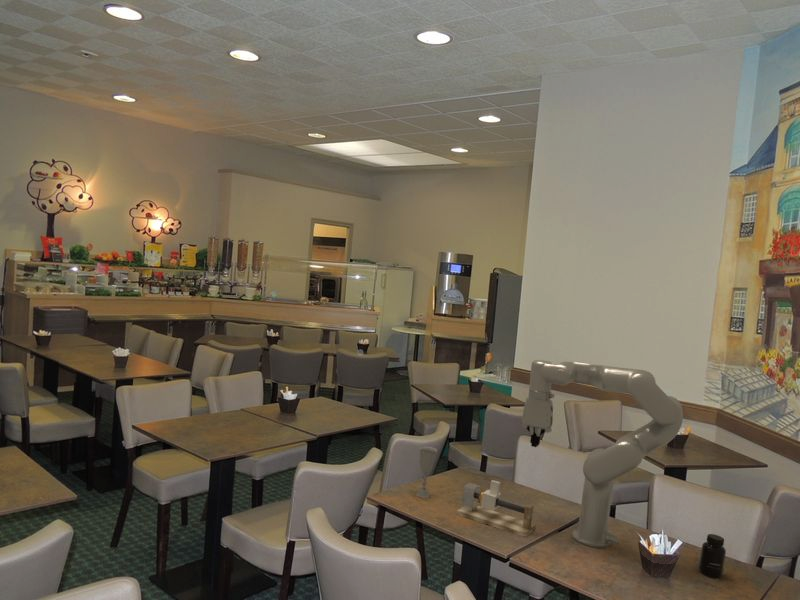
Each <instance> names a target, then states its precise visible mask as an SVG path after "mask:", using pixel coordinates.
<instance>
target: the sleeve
mask: <svg viewBox="0 0 800 600" xmlns="http://www.w3.org/2000/svg"><path fill="white" fill-rule="evenodd" d="M500 487H501V481H497V480H493V479H492V480H491V481H490V488H489V489H486V490H485V492H483V493H482V500H481V503H480V507H483V508H486V509H489V510H492V511H496V510H497V509H498V508H500V506H498V505H495V504H496V499H499V500H501V496H502V493H501V492H500Z"/></svg>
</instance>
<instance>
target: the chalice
mask: <svg viewBox="0 0 800 600" xmlns="http://www.w3.org/2000/svg"><path fill="white" fill-rule="evenodd" d="M419 450H420V451H419V466H420V469H421V472H422V473H423V475H424V476H423V477H422V479H423V480H422V482H421V483H422V487H421V488H419V489H418V491H417V493H416V496H417V497H419V498H423V499H428V498H430V493H429V490H428V489H427V487H426V485H427V474H429V473H430V472H431V470H432V469H433V467H434V464H435V462H436V453H437V451H438V450H437V448H435V447H434V446H433V447H432V446H426V445H425V446H424V445H423V446H420V447H419Z"/></svg>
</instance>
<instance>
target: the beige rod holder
mask: <svg viewBox="0 0 800 600" xmlns="http://www.w3.org/2000/svg"><path fill="white" fill-rule="evenodd" d="M461 508H462V507H460V508H458V509H457V510H456V515H457V516H461V517H463V518H466V517H467V518H466V519H469V518H470V519H469V520H472V519H473V521H475V522H478V523H481V524H483V525H486V524H488V525H487V526H489V525H491V526H490V527H492V526H493V528H495V527H496V529H498V528H499V529H498V530H501V529H502V531H504V530H505V531H504V532H507V531H508V532H507V533H510V532H512V533H511V534H513V533H515V534H514V535H516V534H518V535H517V536H519V535H522V536H525V537H524V538H526V537H528V536H529V535H530V534H531V533H532V532H533V531H534V530H535V529H536V528H537V527H536V526H537V525H536V524H535V523H533V521H532V520H533V514H534V513H533V512H534V505H532V504H526V505H525V506H524V508H525V511H524V513H523V520H522V519H520V518H517V517H513V516H510V515H507V514H505V513H502V512H498V511H496V510H494V511H492V510H489V509H486V508H483V507H481V505H478V506H477V509H476V510H474V511H472V512H469V511H466V510H463V509H461ZM533 529H534V530H533ZM532 530H533V531H532ZM531 531H532V532H531ZM530 532H531V533H530ZM529 533H530V534H529ZM528 534H529V535H528ZM522 536H521V537H522Z"/></svg>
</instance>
